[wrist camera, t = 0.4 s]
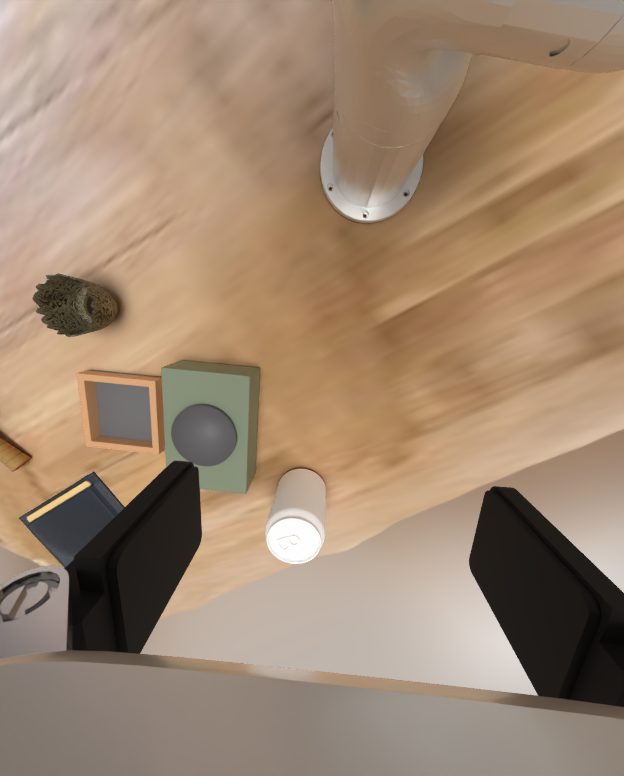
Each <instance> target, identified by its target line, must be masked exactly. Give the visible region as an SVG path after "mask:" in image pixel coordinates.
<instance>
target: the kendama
mask: <svg viewBox="0 0 624 776" xmlns="http://www.w3.org/2000/svg"><path fill="white" fill-rule="evenodd" d="M30 459H31V457H29V456H28V455H26V454H25V453H22V452H21V451H20V450H18V449H16V448H15V447H13V446H12V445H10V444H9V443H7V442H6V441H4V440H3V439H1V438H0V461H1V462H2V463H3V464H6V466H7V467H8V468H9V469H10V470H11V471H15V470H17V469H18V468H20V467H21V466H23V465H24V464H25V463H27V462H28V461H29V460H30Z"/></svg>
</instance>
